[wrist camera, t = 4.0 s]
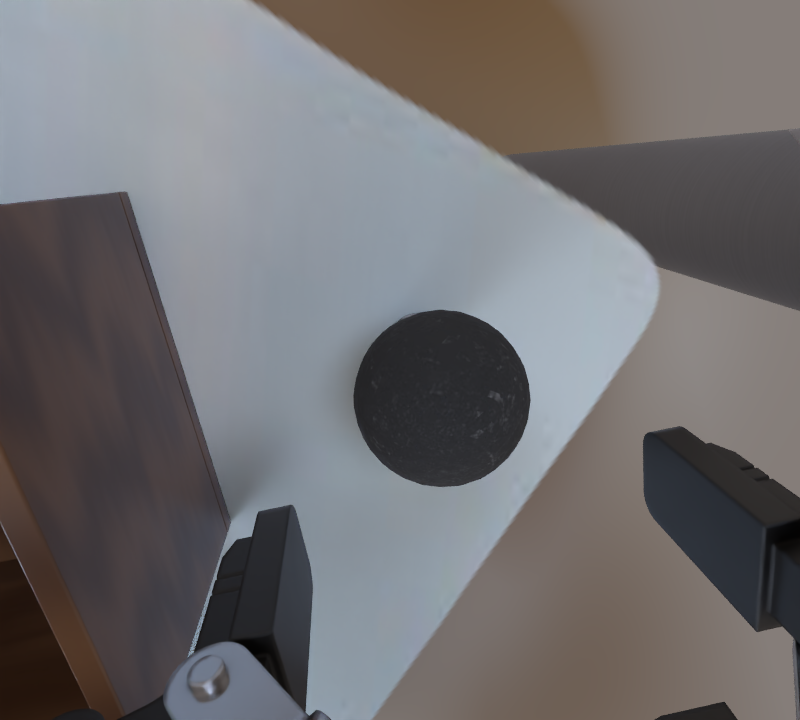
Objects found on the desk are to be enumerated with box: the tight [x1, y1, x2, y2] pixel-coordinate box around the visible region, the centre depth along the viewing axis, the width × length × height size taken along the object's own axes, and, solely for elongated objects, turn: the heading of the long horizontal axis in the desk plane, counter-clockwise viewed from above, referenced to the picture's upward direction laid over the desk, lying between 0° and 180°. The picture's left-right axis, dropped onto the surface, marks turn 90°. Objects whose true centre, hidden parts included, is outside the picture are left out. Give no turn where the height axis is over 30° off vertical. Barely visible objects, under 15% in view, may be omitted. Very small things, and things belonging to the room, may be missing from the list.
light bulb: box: [354, 310, 530, 487], centre depth 20 cm, size 6×6×10 cm
